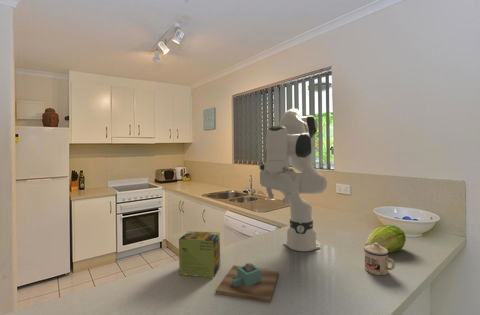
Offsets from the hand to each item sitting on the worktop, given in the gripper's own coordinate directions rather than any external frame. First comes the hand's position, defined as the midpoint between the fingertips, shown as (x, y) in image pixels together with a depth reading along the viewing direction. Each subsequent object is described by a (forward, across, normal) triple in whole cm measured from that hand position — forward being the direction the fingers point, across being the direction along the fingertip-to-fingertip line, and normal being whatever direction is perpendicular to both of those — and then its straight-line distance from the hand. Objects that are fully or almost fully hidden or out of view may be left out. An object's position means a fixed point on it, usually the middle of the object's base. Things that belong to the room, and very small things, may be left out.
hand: (278, 200), depth 102 cm
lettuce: (+33, -9, -59) cm, 68 cm away
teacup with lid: (+32, -20, -37) cm, 53 cm away
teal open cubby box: (+30, +1, +16) cm, 34 cm away
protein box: (+31, +21, +27) cm, 46 cm away
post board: (+31, +1, +14) cm, 34 cm away
